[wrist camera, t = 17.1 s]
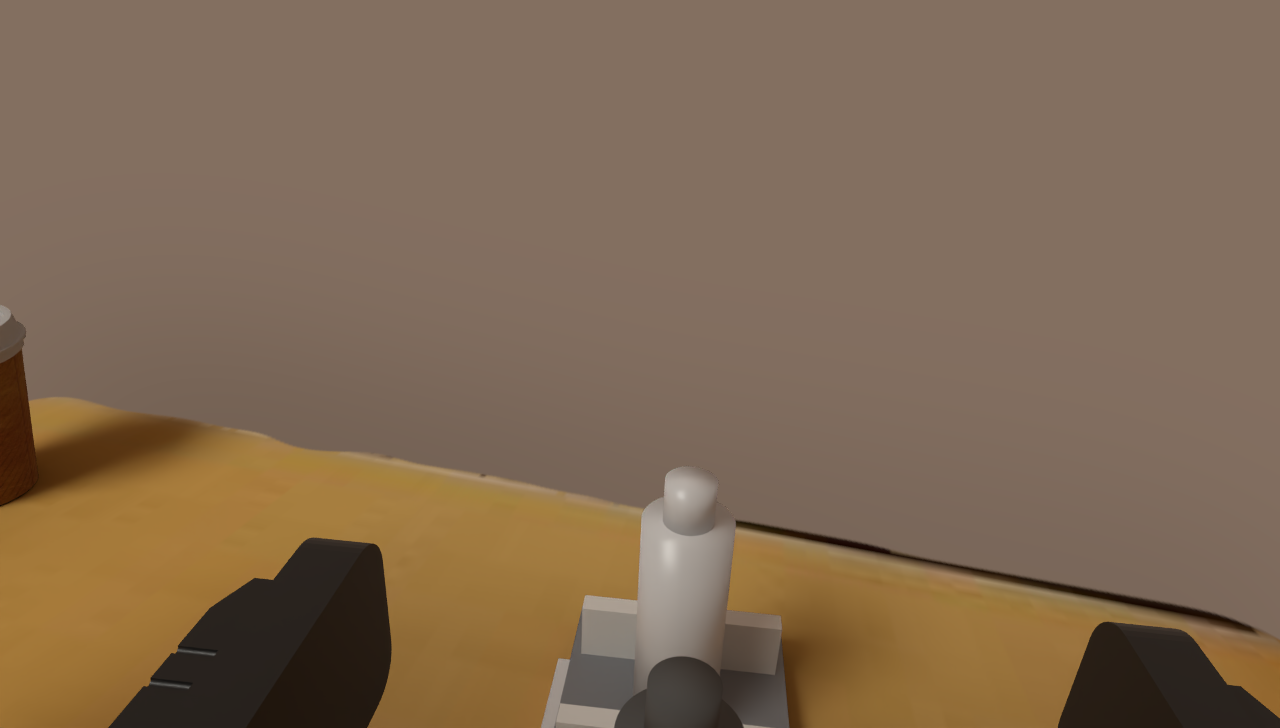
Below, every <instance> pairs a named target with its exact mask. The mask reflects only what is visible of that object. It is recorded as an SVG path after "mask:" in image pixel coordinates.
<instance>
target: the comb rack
mask: <svg viewBox="0 0 1280 728" xmlns="http://www.w3.org/2000/svg"><path fill="white" fill-rule="evenodd" d="M637 603H638V601H636V600H627V599H617V598H608V597H598V596H589V595H585V599H584V604H583V607H582V611H581V615H580V619H579V624H578V628H577V632H576V636H575V641H574V645H573V649H572V653H571V658H570V660H568V659H559V658H558V662H557V666H556V670H555V674H554V678H553V682H552V686H551V690H550V694H549V698H548V702H547V706H546V710H545V714H544V718H543V722H542V726H541V728H614V725H615V721H616V718H617V716H618V713H619V712H620V710H621V708H622V707H623V706H624V705H625V703H626V702H627V701H628V700H629V699H630V698H632V697H633V685H634V664H635V644H636V623H637ZM781 634H782V623H781V616H778V615H769V614H759V613H750V612H740V611H731V610H727V612H726V622H725V631H724V640H723V650H722V659H721V668H720V678H721V680H722V684H723V693H722V700H724V701H725V702H726V703H727V704H728V705H729V706H730V707H731V708H732V709H733V710H734V711H735V712H736V714H737V715H738V717H739V718H740V720H741V722H742V724H743V726H744V728H789V719H788V707H787V696H786V685H785V673H784V662H783V651H782V640H781Z"/></svg>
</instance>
